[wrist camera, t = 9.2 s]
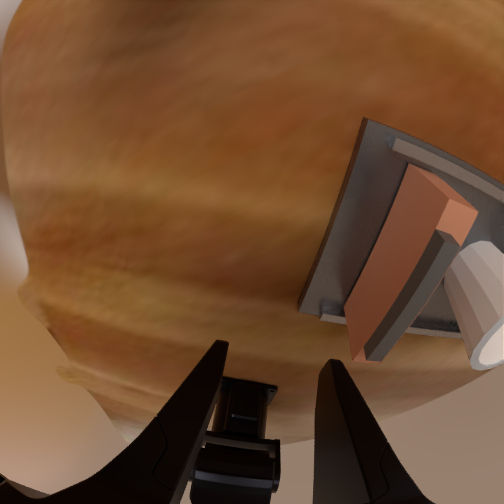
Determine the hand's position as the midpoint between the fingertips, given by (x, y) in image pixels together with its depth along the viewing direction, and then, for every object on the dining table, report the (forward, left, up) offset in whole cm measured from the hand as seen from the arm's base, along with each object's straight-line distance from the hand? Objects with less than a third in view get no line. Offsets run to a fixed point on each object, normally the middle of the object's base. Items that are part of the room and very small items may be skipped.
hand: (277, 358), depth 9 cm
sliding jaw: (0, -7, -9) cm, 12 cm away
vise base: (0, -14, -10) cm, 17 cm away
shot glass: (0, -16, -10) cm, 18 cm away
